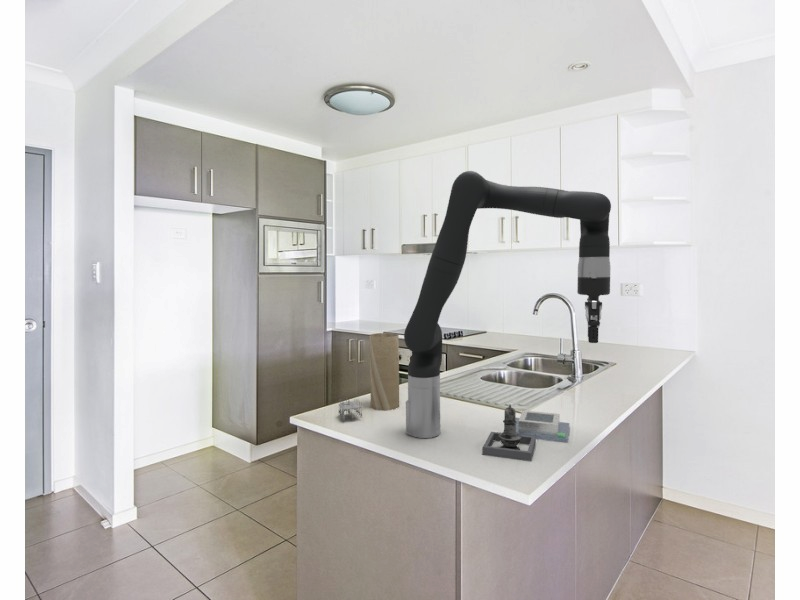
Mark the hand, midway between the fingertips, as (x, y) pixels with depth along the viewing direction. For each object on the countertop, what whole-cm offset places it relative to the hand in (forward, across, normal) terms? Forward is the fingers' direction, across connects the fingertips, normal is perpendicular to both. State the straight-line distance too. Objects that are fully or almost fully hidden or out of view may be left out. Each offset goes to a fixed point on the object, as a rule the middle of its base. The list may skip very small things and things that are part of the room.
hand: (592, 340), depth 118 cm
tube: (+30, -22, -66) cm, 75 cm away
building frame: (+30, -6, -72) cm, 78 cm away
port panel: (+29, -13, -14) cm, 35 cm away
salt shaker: (+29, +4, -20) cm, 36 cm away
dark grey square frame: (+29, +4, -20) cm, 35 cm away
